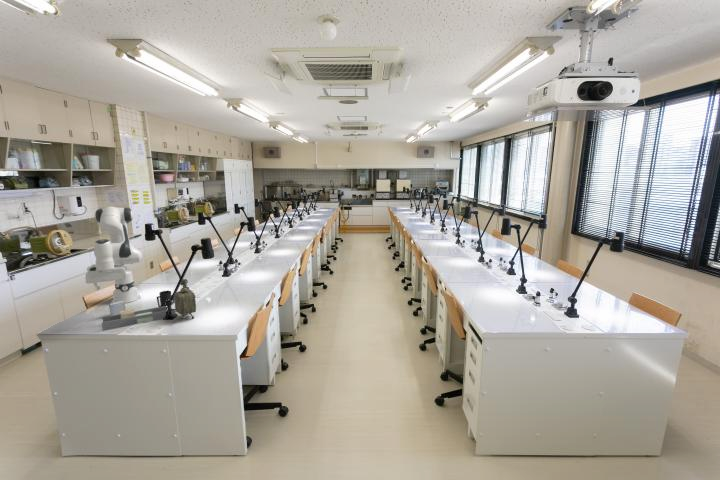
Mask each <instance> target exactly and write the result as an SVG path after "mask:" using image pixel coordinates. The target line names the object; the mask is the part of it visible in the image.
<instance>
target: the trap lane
mask: <svg viewBox="0 0 720 480" xmlns="http://www.w3.org/2000/svg"><path fill="white" fill-rule="evenodd" d="M166 310H167V307H166V306H163V307H159V306H157V307H154V308H153V307H152V308H147V309H141V310H134V315H135V316H134V317H129V318H123V319H121V314H118V315H112V316H110V315H107V316H103V317H102V322H101V326H102V331H107V330H108V331H109V330H112V329H118V328H122V327H128V326H133V325H137V324H139V325H140V324H143V323H148V322H154V321H158V320H163V318H164V317H165V315H166V312H167V311H166ZM164 319H165V318H164Z"/></svg>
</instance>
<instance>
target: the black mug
mask: <svg viewBox="0 0 720 480" xmlns="http://www.w3.org/2000/svg"><path fill="white" fill-rule="evenodd" d="M171 297H172V291H171V290H162V291H160V292H159V295H158V296H156V301H157V307H163V306H165V302H166V300H168V299H170V298H171Z"/></svg>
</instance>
